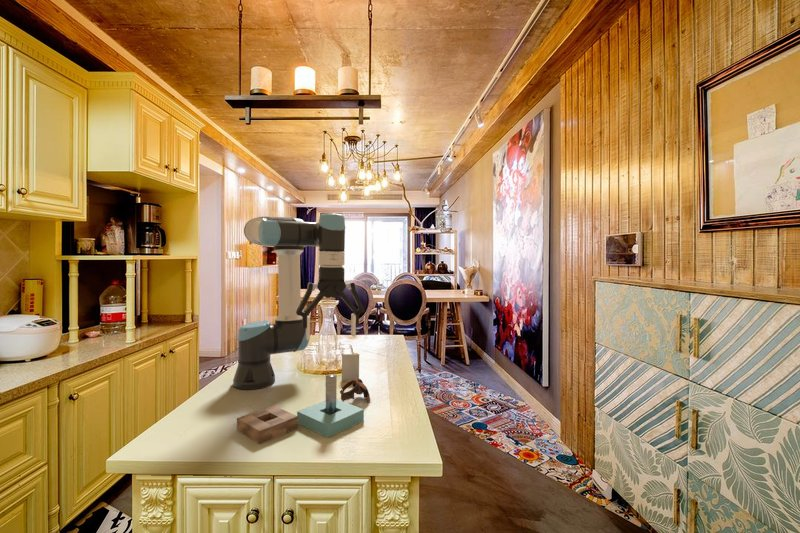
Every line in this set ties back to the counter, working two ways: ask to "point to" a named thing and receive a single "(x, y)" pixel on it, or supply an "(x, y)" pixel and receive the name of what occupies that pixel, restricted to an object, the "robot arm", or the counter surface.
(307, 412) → the dock socket
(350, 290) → the robot arm
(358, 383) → the brown ring with knob
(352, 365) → the white box
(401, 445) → the counter surface
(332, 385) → the pin
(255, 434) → the pin mount
